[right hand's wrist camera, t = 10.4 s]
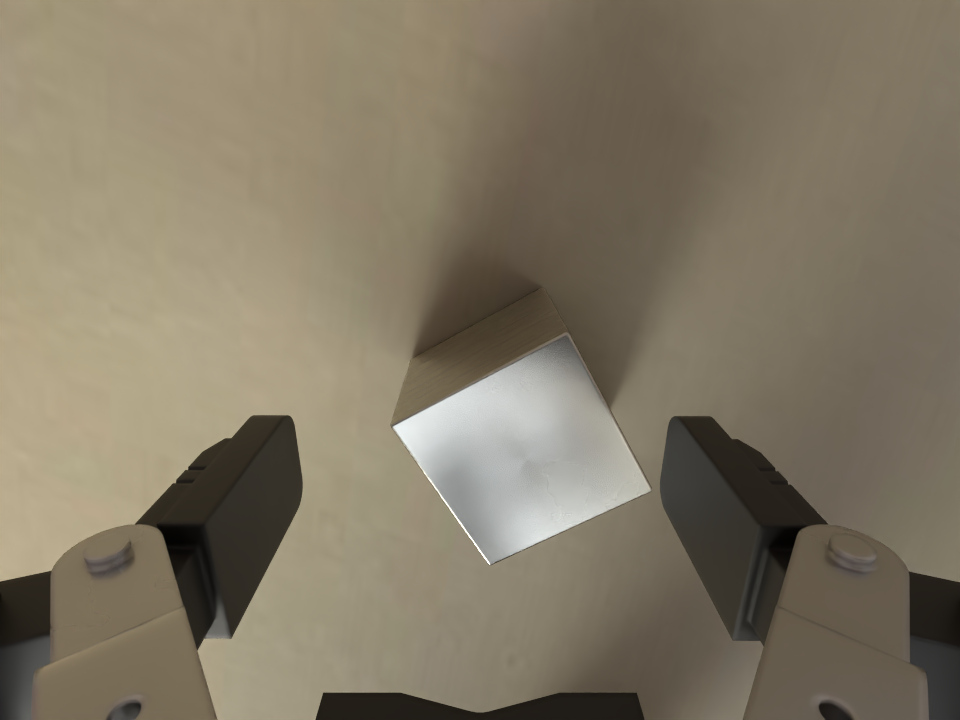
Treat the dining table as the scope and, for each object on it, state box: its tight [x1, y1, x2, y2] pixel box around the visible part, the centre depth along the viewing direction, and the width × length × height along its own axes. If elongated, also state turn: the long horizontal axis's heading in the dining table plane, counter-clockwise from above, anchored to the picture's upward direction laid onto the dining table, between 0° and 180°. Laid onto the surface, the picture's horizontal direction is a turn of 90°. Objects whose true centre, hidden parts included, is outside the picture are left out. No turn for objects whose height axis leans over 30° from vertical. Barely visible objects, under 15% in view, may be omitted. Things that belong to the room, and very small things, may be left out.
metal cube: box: [391, 288, 652, 565], centre depth 15 cm, size 5×5×5 cm
